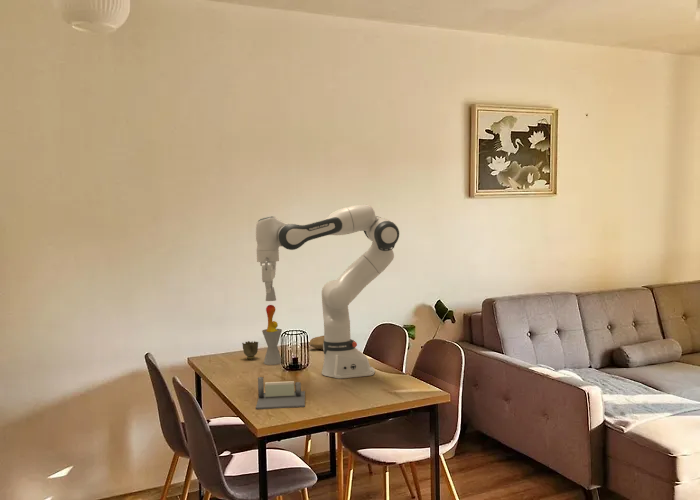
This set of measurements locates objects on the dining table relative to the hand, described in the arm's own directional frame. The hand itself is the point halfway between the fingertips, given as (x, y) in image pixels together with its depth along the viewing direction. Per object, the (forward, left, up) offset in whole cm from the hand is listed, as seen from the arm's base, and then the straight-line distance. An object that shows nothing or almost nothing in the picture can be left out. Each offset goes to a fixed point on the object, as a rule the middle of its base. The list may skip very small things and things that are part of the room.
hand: (269, 291), depth 251 cm
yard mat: (-5, +27, -37) cm, 46 cm away
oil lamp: (-22, -59, -37) cm, 73 cm away
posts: (-5, +24, -37) cm, 44 cm away
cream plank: (-4, +24, -36) cm, 43 cm away
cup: (+13, -43, -37) cm, 58 cm away
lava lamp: (+2, -34, -37) cm, 50 cm away
